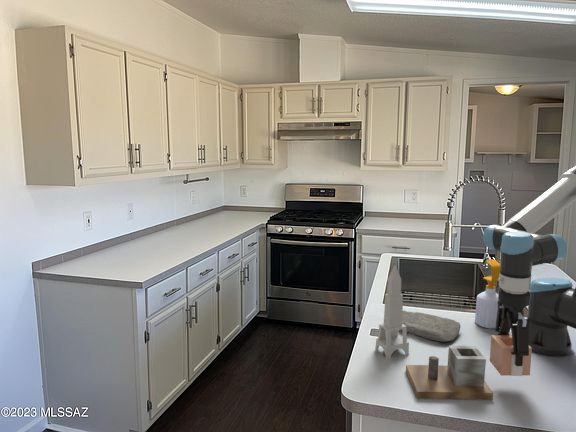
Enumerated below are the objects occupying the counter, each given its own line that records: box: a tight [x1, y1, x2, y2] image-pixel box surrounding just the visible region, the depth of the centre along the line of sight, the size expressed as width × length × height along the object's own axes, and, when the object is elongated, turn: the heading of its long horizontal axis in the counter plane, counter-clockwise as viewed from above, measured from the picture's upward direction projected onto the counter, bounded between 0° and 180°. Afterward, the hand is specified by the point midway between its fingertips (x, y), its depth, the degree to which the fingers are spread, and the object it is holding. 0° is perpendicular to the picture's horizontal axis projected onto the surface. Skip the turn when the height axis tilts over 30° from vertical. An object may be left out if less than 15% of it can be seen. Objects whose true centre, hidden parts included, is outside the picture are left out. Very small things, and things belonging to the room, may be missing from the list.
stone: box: [402, 310, 461, 343], centre depth 160 cm, size 26×4×15 cm
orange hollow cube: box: [489, 334, 533, 377], centre depth 121 cm, size 8×8×8 cm
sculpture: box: [375, 264, 410, 360], centre depth 141 cm, size 7×8×30 cm
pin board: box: [405, 345, 494, 401], centre depth 124 cm, size 20×14×10 cm
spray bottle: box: [474, 259, 500, 330], centre depth 162 cm, size 9×9×25 cm
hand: (509, 366), depth 122 cm, fingers closed on orange hollow cube, 8 cm apart
